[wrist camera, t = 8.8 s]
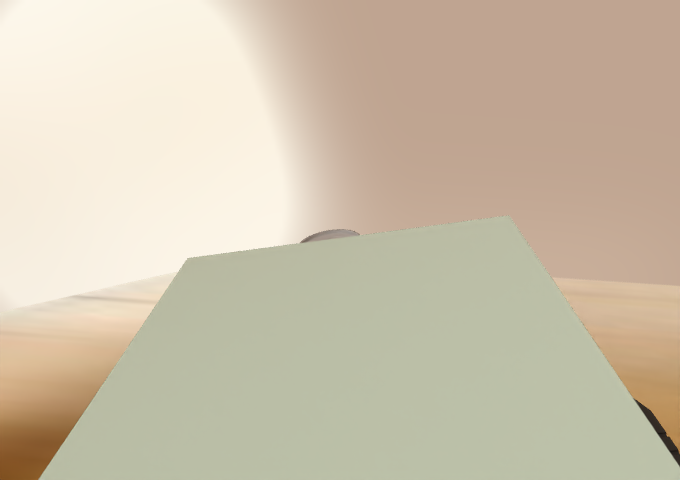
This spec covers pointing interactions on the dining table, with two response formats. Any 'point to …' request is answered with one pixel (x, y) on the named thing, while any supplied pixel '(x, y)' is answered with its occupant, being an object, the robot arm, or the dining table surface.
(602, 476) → the lid
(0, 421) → the dining table surface
